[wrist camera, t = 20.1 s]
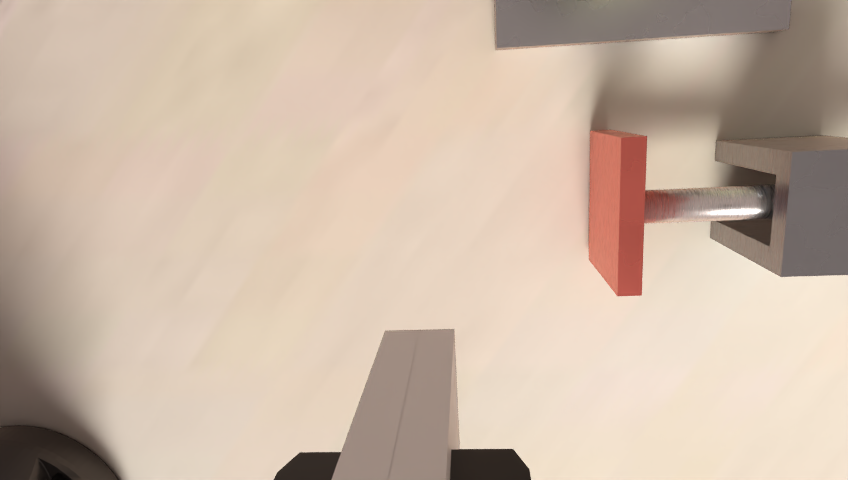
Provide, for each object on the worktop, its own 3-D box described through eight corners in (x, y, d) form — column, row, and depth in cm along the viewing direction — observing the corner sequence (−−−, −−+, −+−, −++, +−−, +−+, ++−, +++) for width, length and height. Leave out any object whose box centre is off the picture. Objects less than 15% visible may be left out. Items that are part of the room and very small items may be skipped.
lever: (588, 259, 36) (617, 296, 29) (590, 130, 34) (621, 137, 27) (912, 248, 34) (1022, 284, 27) (931, 112, 32) (1055, 115, 26)
